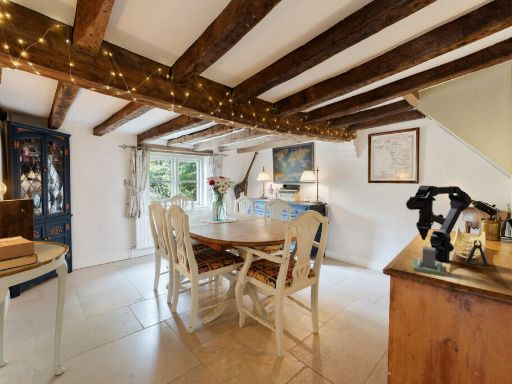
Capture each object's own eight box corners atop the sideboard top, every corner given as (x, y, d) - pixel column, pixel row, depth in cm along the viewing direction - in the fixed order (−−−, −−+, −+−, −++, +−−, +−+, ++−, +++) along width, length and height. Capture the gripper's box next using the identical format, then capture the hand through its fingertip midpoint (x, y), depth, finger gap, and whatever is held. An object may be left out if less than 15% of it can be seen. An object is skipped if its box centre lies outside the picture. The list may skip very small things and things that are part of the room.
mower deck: (442, 265, 126) (442, 260, 126) (444, 276, 114) (444, 269, 113) (414, 261, 133) (414, 256, 133) (413, 270, 120) (413, 264, 120)
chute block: (434, 265, 123) (435, 247, 122) (434, 268, 119) (435, 250, 118) (422, 263, 126) (423, 246, 125) (422, 266, 122) (422, 248, 121)
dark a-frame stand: (465, 262, 131) (466, 240, 130) (465, 260, 136) (466, 238, 135) (488, 266, 125) (490, 243, 124) (487, 263, 130) (489, 241, 129)
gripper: (444, 212, 118) (442, 244, 119) (445, 208, 132) (444, 237, 133) (416, 210, 125) (415, 240, 126) (420, 207, 139) (419, 234, 140)
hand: (424, 238), depth 131 cm, fingers open, 9 cm apart
